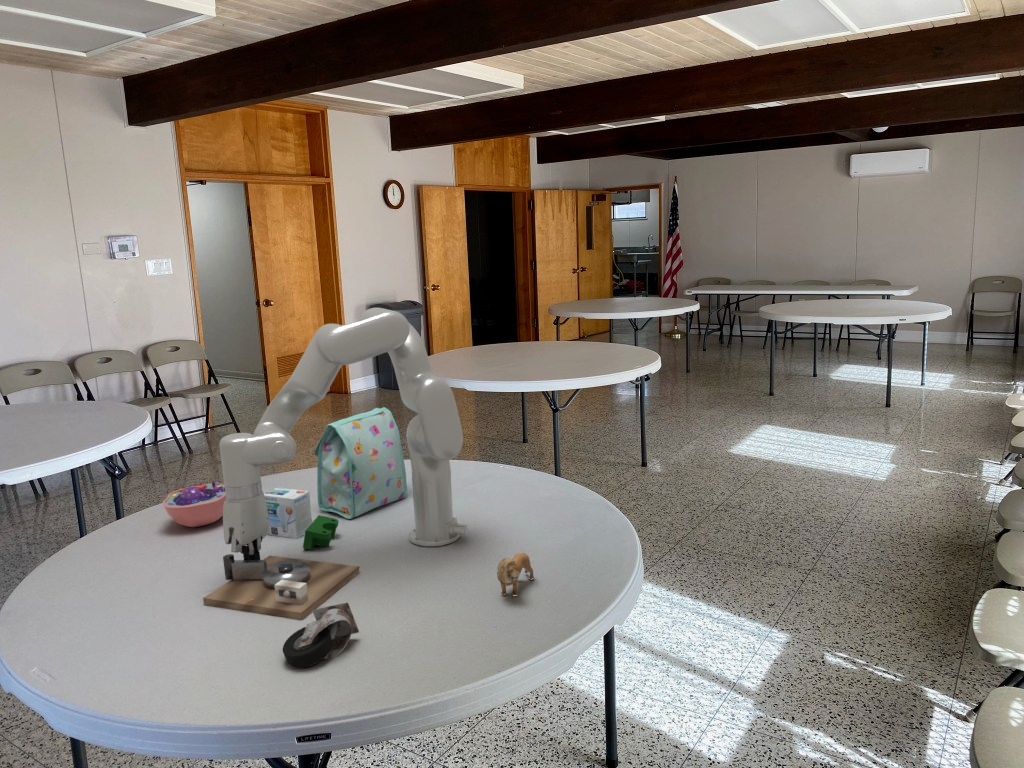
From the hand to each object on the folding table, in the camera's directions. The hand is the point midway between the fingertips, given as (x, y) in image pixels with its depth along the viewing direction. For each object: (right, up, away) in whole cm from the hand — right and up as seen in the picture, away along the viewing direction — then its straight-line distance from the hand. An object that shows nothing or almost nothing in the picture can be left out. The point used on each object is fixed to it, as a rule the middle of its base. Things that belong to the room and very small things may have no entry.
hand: (253, 568), depth 165 cm
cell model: (-27, +3, +37) cm, 46 cm away
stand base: (+8, -3, -4) cm, 10 cm away
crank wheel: (+4, -1, -3) cm, 5 cm away
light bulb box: (-1, +2, +28) cm, 28 cm away
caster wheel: (+23, -8, -31) cm, 39 cm away
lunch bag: (+15, +6, +47) cm, 50 cm away
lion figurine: (+59, -3, -9) cm, 59 cm away
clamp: (+10, +1, +20) cm, 23 cm away
